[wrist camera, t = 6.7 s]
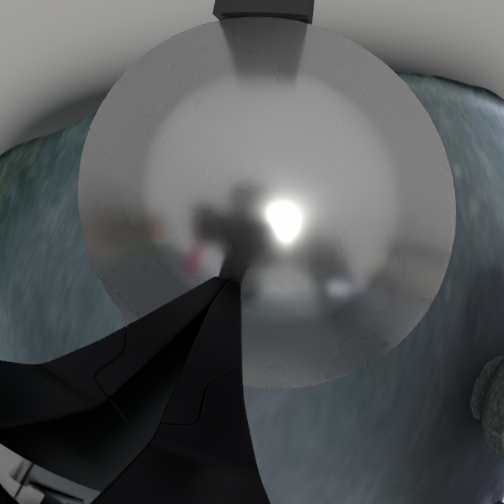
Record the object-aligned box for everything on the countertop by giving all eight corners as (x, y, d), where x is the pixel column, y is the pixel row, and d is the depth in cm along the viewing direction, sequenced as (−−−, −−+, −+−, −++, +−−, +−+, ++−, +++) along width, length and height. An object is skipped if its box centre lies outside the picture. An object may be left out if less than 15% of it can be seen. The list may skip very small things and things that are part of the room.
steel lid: (365, 390, 10) (365, 415, 9) (114, 320, 12) (98, 335, 11) (460, -25, 3) (474, -40, 1) (132, -42, 5) (113, -52, 4)
